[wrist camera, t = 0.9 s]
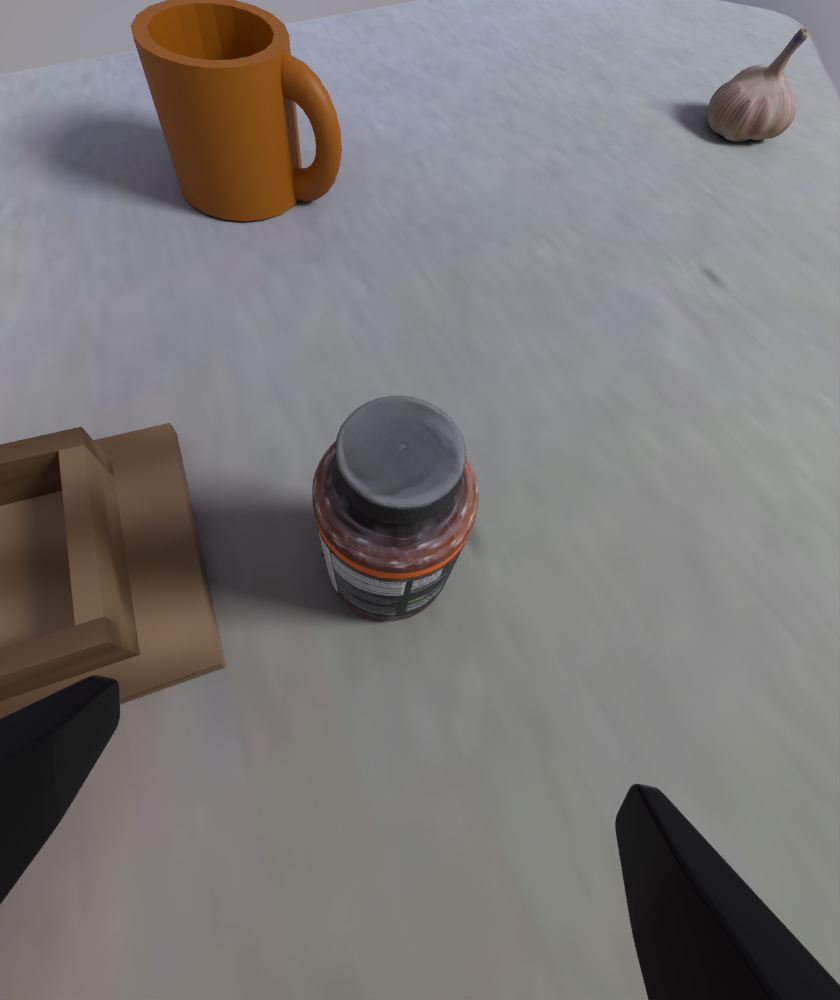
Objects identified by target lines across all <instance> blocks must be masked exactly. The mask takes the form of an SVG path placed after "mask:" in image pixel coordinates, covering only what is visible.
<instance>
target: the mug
mask: <svg viewBox="0 0 840 1000" xmlns="http://www.w3.org/2000/svg"><path fill="white" fill-rule="evenodd" d="M131 29H132V33H133V38H134V41H135V44H136V48H137V51H138V54H139V57H140V60H141V63H142V67H143V70H144V73H145V76H146V79H147V83H148V86H149V89H150V92H151V95H152V98H153V102H154V105H155V108H156V111H157V114H158V117H159V121H160V124H161V127H162V130H163V133H164V136H165V140H166V143H167V146H168V149H169V152H170V155H171V159H172V162H173V165H174V168H175V171H176V174H177V178H178V181H179V184H180V187H181V190H182V193H183V195H184V197H185V198H186V199H187V200H188V202H189V203H190V204H191V205H192V206H193V207H195V208H197V209H198V210H200V211H202V212H203V213H205V214H207V215H211V216H214V217H217V218H221V219H224V220H234V221H253V220H263V219H267V218H270V217H273V216H276V215H279V214H282V213H283V212H285V211H286V210H288V209H290V208H291V207H293V206H294V205H295V204H296V202H297V201H298V200H299V201H305V202H308V201H313V200H317V199H318V198H320V197H321V196H323V195H324V194H326V193H327V192H328V191H329V189H330V188H331V187H332V185H333V184H334V182H335V179H336V176H337V173H338V171H339V167H340V161H341V152H342V146H341V132H340V127H339V123H338V119H337V114H336V111H335V108H334V106H333V104H332V101H331V99H330V96H329V94H328V92H327V90H326V89H325V87H324V86H323V84H322V83H321V81H320V79H319V78H318V76H317V75H316V74H315V73H314V72H313V71H312V70H311V69H310V68H309V67H308V66H307V65H306V64H305V63H304V62H302V61H300V60H299V59H297V58H295V57H293V56H292V55H291V52H290V42H289V34H288V32H287V30H286V28H285V25H284V24H283V23H282V22H281V21H280V20H279V19H277V18H276V17H275V16H274V15H273V14H271V13H269V12H267V11H265V10H263V9H261V8H258V7H256V6H253V5H250V4H246V3H243V2H239V1H236V0H166V1H163V2H160V3H158V4H154V5H152V6H149V7H147V8H146V9H145V10H143V11H142V12H140V13H139V14H137V15H136V17H135V19H134V21H133V23H132V25H131ZM295 102H296V103H297V104H298V105H299V106H300V107H301V108H302V109H303V111H304V112H305V114H306V115H307V117H308V118H309V121H310V123H311V125H312V127H313V131H314V135H315V140H316V156H315V159H314V161H313V163H312V164H311V166H309V167H308V168H304V169H303V168H302V165H301V155H300V144H299V134H298V124H297V114H296V103H295Z"/></svg>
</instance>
